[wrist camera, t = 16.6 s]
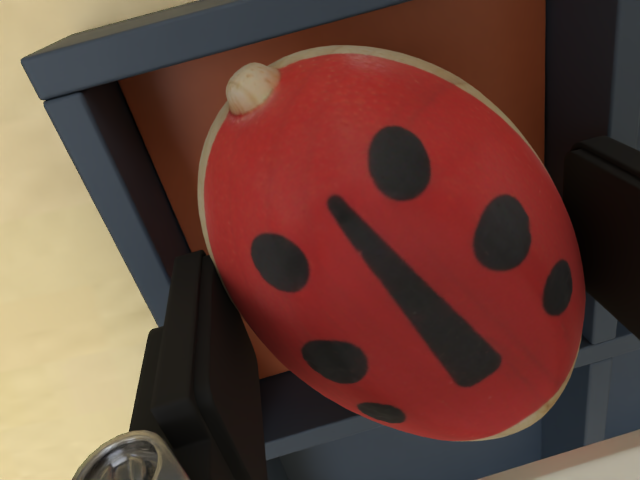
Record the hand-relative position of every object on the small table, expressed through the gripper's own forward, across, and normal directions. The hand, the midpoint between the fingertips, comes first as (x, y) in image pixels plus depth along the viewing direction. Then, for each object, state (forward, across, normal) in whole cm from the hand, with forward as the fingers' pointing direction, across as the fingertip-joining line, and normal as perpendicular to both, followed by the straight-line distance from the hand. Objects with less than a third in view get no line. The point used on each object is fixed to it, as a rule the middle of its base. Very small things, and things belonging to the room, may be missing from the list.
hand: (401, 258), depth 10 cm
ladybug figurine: (+1, 0, 0) cm, 1 cm away
